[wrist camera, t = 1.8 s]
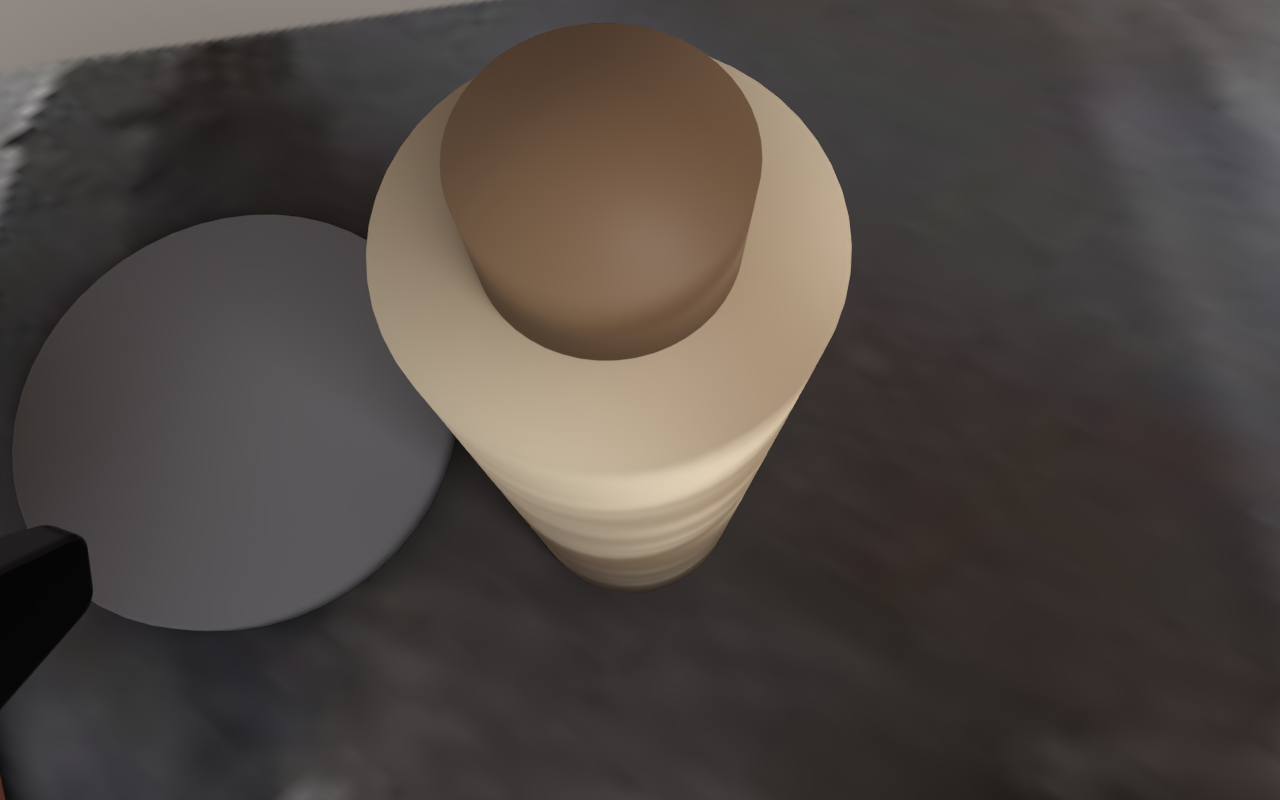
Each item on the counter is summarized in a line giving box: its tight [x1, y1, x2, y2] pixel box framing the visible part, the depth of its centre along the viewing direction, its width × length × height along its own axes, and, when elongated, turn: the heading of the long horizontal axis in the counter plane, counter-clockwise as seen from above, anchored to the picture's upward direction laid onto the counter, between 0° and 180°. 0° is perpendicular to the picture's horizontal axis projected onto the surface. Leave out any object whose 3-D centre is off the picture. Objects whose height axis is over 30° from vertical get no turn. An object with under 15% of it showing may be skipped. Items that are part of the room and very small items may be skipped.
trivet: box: [12, 215, 456, 631], centre depth 21 cm, size 11×11×1 cm
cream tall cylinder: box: [366, 23, 852, 593], centre depth 14 cm, size 5×5×14 cm
